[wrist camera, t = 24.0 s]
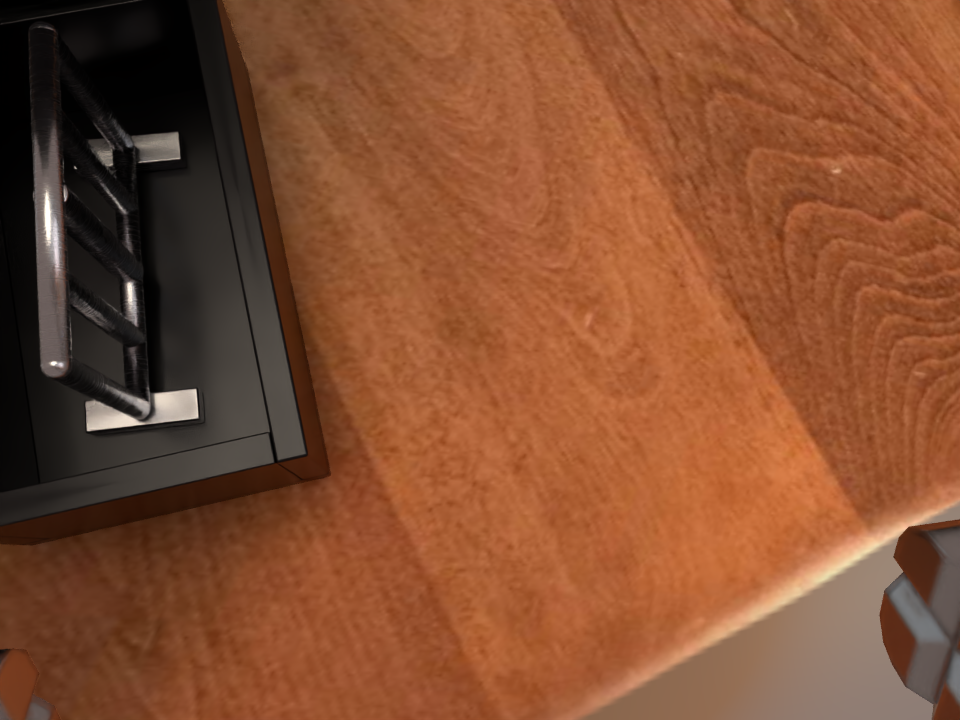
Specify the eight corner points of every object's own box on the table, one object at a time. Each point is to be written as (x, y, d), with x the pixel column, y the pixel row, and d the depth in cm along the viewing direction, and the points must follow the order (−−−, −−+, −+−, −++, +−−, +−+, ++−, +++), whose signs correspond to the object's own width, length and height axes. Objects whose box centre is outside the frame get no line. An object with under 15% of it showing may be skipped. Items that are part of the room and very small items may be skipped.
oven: (331, 476, 34) (308, 455, 28) (30, 546, 33) (-71, 542, 26) (247, 69, 38) (208, -38, 31) (-30, 120, 36) (-134, 19, 30)
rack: (205, 423, 34) (128, 374, 25) (92, 436, 33) (-27, 392, 24) (184, 139, 36) (107, 3, 27) (79, 149, 35) (-34, 14, 27)
